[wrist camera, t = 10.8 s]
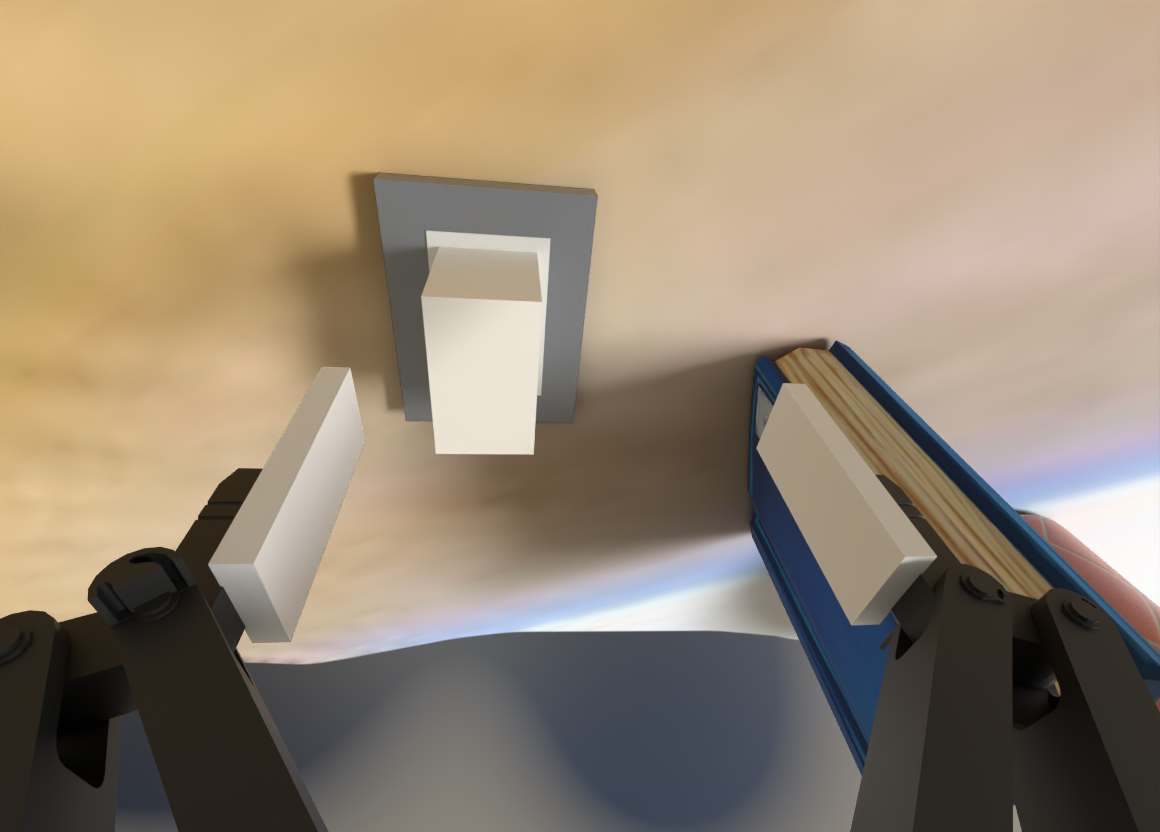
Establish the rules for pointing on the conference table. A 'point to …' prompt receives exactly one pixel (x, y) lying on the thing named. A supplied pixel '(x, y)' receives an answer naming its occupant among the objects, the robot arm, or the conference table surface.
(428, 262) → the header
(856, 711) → the book
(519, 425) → the block
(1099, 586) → the planter
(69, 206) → the conference table surface
